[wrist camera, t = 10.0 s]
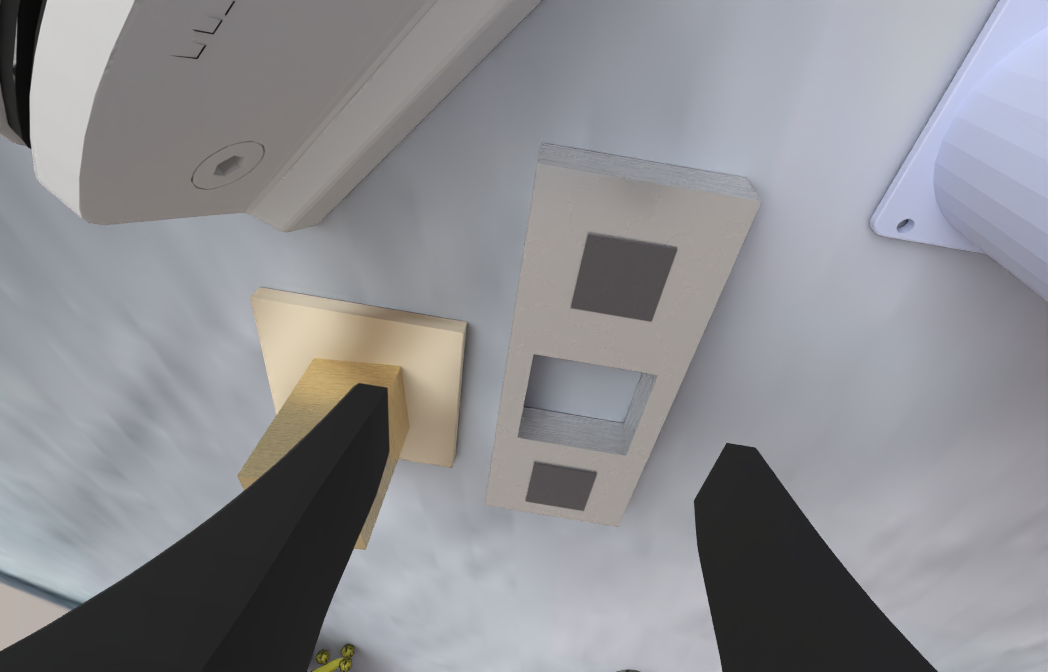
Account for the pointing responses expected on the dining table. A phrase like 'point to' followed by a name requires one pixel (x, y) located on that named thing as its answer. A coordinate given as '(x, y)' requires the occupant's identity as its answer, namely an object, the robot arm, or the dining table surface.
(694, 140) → the dining table surface
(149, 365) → the dining table surface
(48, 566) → the dining table surface
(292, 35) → the grey rounded upright block
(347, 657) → the decorative flower
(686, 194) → the grey peg hole board
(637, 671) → the phone
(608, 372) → the dining table surface
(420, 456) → the birch pad
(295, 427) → the brass peg
